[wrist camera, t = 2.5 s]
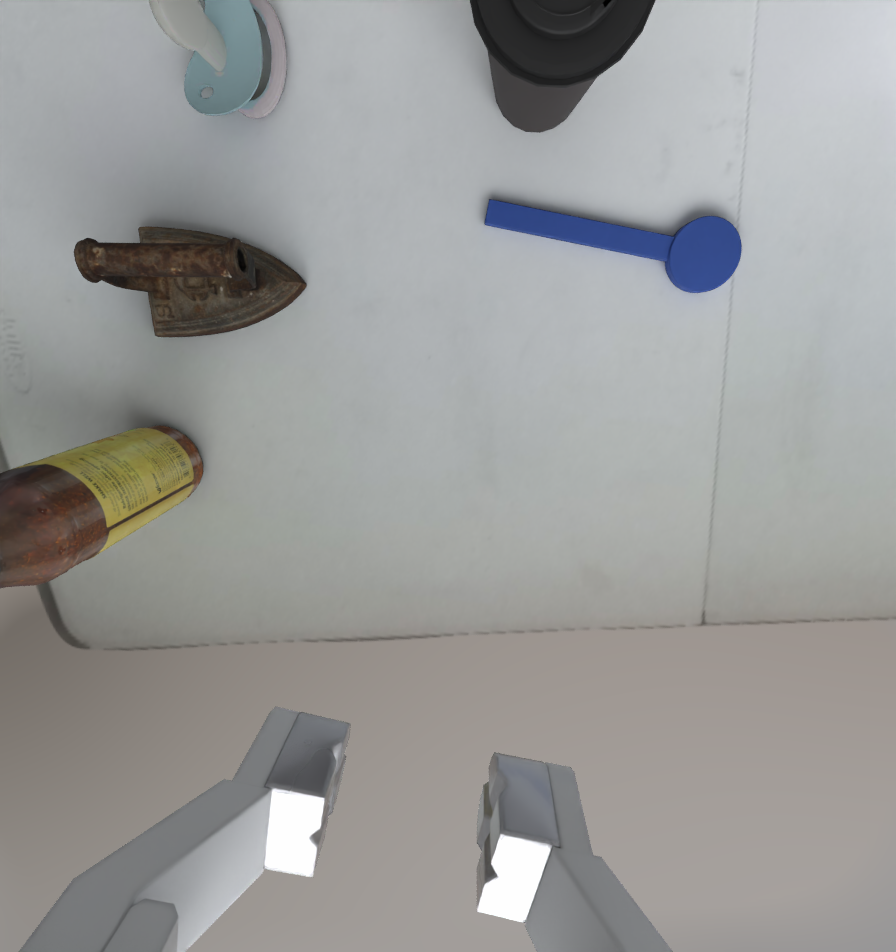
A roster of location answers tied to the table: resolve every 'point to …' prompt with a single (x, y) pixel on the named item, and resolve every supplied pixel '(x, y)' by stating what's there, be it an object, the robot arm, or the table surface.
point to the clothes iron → (193, 279)
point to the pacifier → (226, 52)
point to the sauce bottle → (89, 500)
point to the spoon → (638, 242)
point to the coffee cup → (553, 51)
